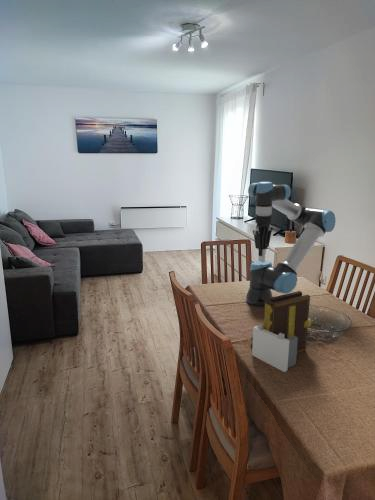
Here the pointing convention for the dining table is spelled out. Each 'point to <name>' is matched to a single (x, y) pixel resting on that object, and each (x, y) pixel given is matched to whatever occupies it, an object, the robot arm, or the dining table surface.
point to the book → (288, 316)
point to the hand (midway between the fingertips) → (261, 261)
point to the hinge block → (252, 340)
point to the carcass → (274, 348)
